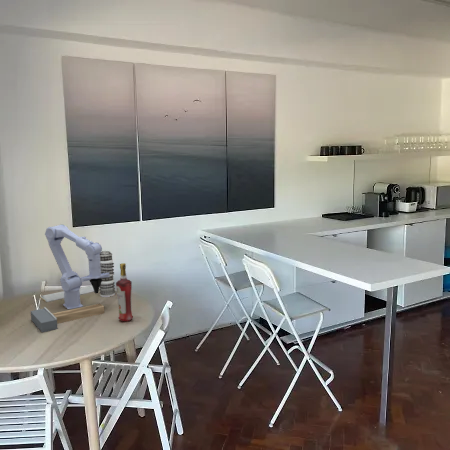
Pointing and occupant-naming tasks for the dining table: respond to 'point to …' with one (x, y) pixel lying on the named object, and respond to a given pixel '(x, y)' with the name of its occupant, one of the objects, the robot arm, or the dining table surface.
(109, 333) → the dining table surface
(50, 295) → the baseboard
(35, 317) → the groove block
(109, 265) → the white tower model
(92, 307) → the oak plank
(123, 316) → the liquor
